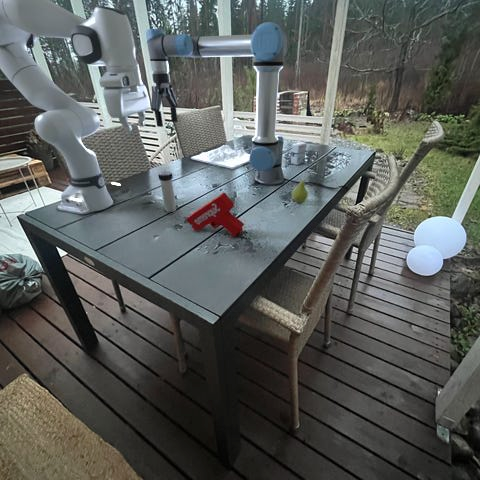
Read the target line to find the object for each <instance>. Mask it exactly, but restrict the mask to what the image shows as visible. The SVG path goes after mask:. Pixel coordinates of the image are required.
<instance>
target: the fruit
mask: <svg viewBox="0 0 480 480" xmlns="http://www.w3.org/2000/svg"><path fill="white" fill-rule="evenodd" d="M310 177H311V175H310V174H309V175H308V176H307V177H305V179H302V180H301V181H299V182H300V183H297V185H296V186H295V187H294V188H293V190H292V191H291V198H292V200H293V201H294V202H295V203H297V204H301V203H304V202H305V201H306V200H307V198H308V196H309V195H308V190H307V189H306V183H305V182H306V180H308V179H309V178H310Z"/></svg>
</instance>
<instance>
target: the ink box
mask: <svg viewBox="0 0 480 480" xmlns="http://www.w3.org/2000/svg"><path fill="white" fill-rule="evenodd" d="M307 144H308V143H307V142H303V141H299V142H296V143H293V144H292V146H291V147H292V148H291V158H290V164H292V165H295V166H298V165H301V164H303V163H305V161H306V154H307V153H306V152H307V146H308V145H307ZM304 160H305V161H304ZM302 161H303V162H302ZM300 162H301V163H300ZM297 163H298V164H297Z"/></svg>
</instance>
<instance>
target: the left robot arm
mask: <svg viewBox="0 0 480 480" xmlns="http://www.w3.org/2000/svg"><path fill="white" fill-rule="evenodd" d="M92 12H93V13H92V14H91V16H90V17H89V18H87V19H85V18H84V17H82V16H79V15H77V14H75V13H73V12H71V11H70V10H68V9H66V8H65V7H62V6H61V5H58V4H57V3H55V2H53V1H51V0H0V70H1V72H2V73H3V74H4V76H5V77H6V78H7V79H8V81H9V82H10V83H11V84H12V85H13V86H14V87H15V88H16V89H17V90H18V91H19V92H20V94H21V95H22V96H23V97H24V98H25V99H26V100H27V101H28V102H29V103H30V104H31V105H32V106H34V107H36V108H38V109H40V110H44V111H45V112H42V113H40V114H39V115H37V116H36V117H35V119H34V129H35V131H36V133H37V135H38V136H39V138H41V139H42V140H43V141H44V142H46V143H48V144H50V145H52V146H53V147H54V148H55V149H56V150H57V151H58V152H59V153H60V154H61V156H62V157H63V158H64V161H65V163H66V165H67V168H68V171H69V174H70V175H69V176H68V177H66V178H65V180H66V182H68V181H69V185H68V186H67V187H66V188H65V189H64V190H63V191H62V192H61V194H60V200H61V202H60V204H58V205H57V210H58V211H62V212H67V213H73V214H78V215H87V214H91V213H94V212H99V211H103V210H105V209H107V208H109V207H111V206H112V205H113V204H114V200H113V198H112V197H111V195H110V193H109V190H108V188H107V186H106V183H105V178H104V175H103V172H102V170H101V168H100V164H99V161H98V158H97V155H96V154H95V152H94V151H93V150H92V149H89V148H86V146H85V145H84V143H83V141H82V139H83V138H86V137H89V136H92V135H93V134H95V133H96V132H97V131H98V130H99V129H100V127H101V120H100V117H99V115H98V113H97V112H96V111H95V110H94V109H93V108H92V107H89V106H87V105H83V104H81V102H79V101H77V100H75V99H74V98H72V97H71V96H70V95H68V94H67V93H66V92H65V91H63V90H62V89H61V88H60V87H59V86H58V85H57V84H55V82H54V81H53V80H52V79H51V78H50V76H48V75H47V73H46V72H45V71H44V70H43V69H42V68H41V66H40V65H39V64H38V63H37V62H36V61H35V60H34V59H33V58H32V57H31V55H30V54H29V52H28V49H33V48H34V47H35V42H36V41H37V39H38V36H39V37H42V38H54V39H69V40H70V43H71V48H72V49H73V52H74V54H75V56H76V57H77V58H78V60H80V61H81V62H82V63H83V64H85V65H89V66H92V67H106V72H104V74H103V75H102V76H101V77H100V78H99V80H98V82H99V85H100V88H103V91H102V95H103V100H104V103H105V107H106V110H107V113H108V115H109V117H110V118H111V119H118V120H119V123H120V124H121V125H122V128H123V131H124V133H128V134H129V133H131V132H132V131H133V128H132V125H130V123H129V116H133V115H138V120H137V124H138V127H140V128H142V127H146V111H148V110H151V102H150V97H149V92H148V90H147V86H146V84H144V82H143V81H142V76H141V72H140V71H141V70H140V67H139V66H140V65H139V62H138V60H137V57H136V43H135V38H134V33H133V30H132V25H131V22H130V20H129V18H128V15H127V14H126V13H125V12H124V11H123V10H122V9H119V8H114V7H110V6H104V5H98V6H95V7H94V9H93V11H92ZM111 185H115V186H120V187H121V183H119V182H115V181H112V182H111Z"/></svg>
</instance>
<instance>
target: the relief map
mask: <svg viewBox="0 0 480 480" xmlns="http://www.w3.org/2000/svg"><path fill="white" fill-rule="evenodd" d="M249 156H250V153H248V152H247V151H246V150H245V149H244V148H240V149H238V150H234V149H233V148H232V147H231V146H230V145H228V144H226V145H225V144H223V145H221V146H220V147H217V148H216V149H212V150H209V151H206V152H205V151H202V152H201V153H200V154H198V155H194V156H191V157H190V159H191V160H193V161H198V162H201V163H206V164H209V165H214V166H217V167H222V168H226V169H231V170H234V169H236V168H240V167H241V166H244V165H246V164H248V163H250V160H249Z"/></svg>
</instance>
